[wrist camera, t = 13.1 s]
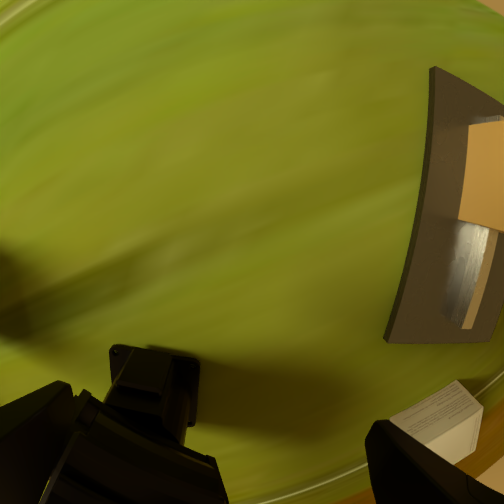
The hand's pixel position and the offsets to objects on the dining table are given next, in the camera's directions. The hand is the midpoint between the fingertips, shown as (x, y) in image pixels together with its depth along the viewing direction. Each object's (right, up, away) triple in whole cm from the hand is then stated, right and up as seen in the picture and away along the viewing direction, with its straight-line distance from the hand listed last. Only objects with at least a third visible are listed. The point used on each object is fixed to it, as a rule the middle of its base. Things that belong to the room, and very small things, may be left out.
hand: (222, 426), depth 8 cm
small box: (+18, -12, +16) cm, 27 cm away
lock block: (+18, +10, +10) cm, 23 cm away
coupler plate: (+18, +7, +12) cm, 22 cm away
